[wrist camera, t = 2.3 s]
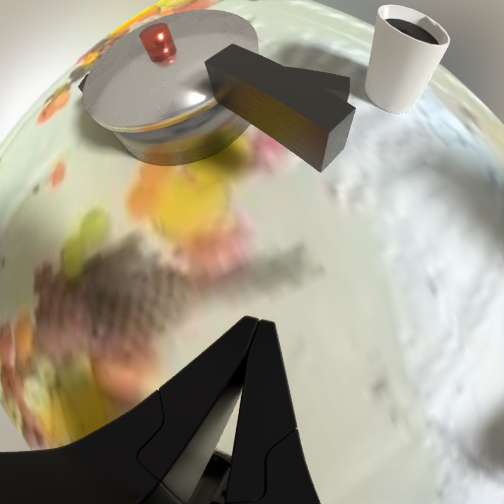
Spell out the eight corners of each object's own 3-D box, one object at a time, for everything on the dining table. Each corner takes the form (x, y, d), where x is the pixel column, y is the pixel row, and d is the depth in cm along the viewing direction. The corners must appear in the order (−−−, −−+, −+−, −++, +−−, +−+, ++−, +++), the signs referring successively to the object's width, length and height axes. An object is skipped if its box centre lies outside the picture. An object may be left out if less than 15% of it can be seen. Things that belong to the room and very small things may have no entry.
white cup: (417, 126, 24) (454, 57, 14) (356, 103, 25) (375, 25, 15) (418, 87, 25) (445, 23, 15) (364, 67, 26) (379, -3, 17)
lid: (240, 258, 16) (226, 235, 12) (68, 94, 22) (46, 69, 18) (391, 100, 18) (407, 60, 14) (184, 8, 24) (174, -20, 19)
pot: (331, 193, 23) (345, 154, 17) (75, 159, 27) (44, 132, 21) (344, 74, 26) (352, 33, 20) (129, 65, 30) (111, 34, 24)
